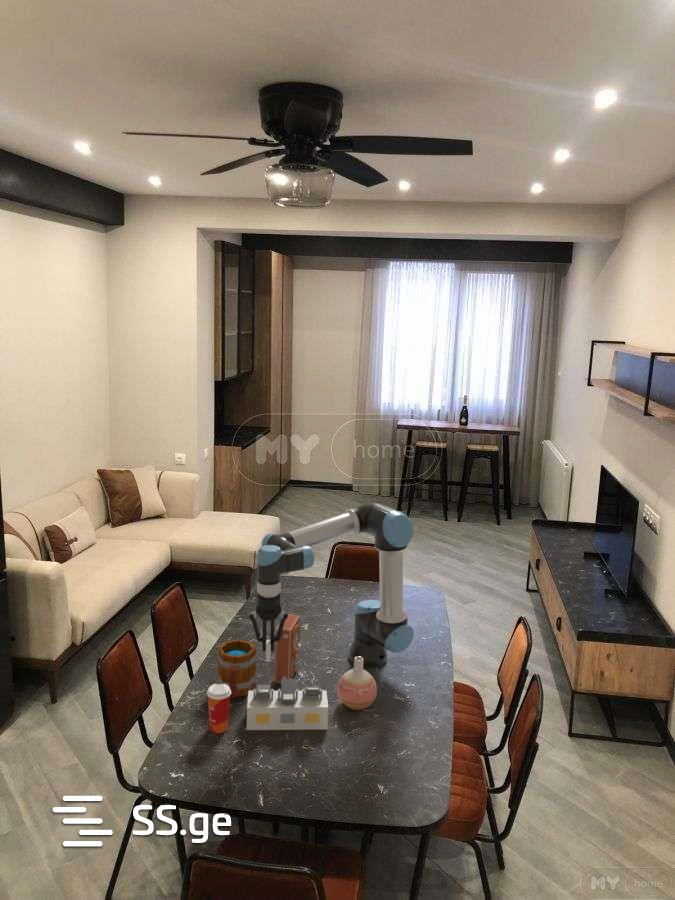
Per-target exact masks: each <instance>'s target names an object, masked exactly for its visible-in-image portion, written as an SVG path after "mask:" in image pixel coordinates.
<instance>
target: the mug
mask: <svg viewBox="0 0 675 900" xmlns="http://www.w3.org/2000/svg"><path fill="white" fill-rule="evenodd" d="M217 653H218V659H217V661H218V662H217V673H218V677H217V678H218V680H217V684H226V685H228V686H229V687H230V690H231V695H230V698H237V697H243V696H248V691H254V689H256V682H255V680H256V677H255V676H256V669H257V665H256V653H257V648H256V647H255V645H254V644H253V642H252V641H248V640H243V639H240V638H238V639H232V640H225V641H224V642H223V643H221V644H220V645H219V646H218V647H217Z"/></svg>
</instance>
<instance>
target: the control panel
mask: <svg viewBox="0 0 675 900" xmlns="http://www.w3.org/2000/svg"><path fill="white" fill-rule="evenodd" d="M278 627H279V624H278V625H277V626H276V628H274V636H276V634H277V631H278ZM300 637H301V626H300V615H297V614H291V613H290V614H289V613H288V617H287V619H286V620H285V622H284V626H283V630H282V633H281V637H280V640H279V641H275V642H274V651H273V653H274V654H275V660H274V661H275V665H274V666H275V667H274V668H275V669H274V683H276V684H281V679H294V678H293V677H294V676H295V673H296V671H298V668H299V650H300V649H299V645H300V643H299V642H300Z"/></svg>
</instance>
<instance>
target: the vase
mask: <svg viewBox="0 0 675 900" xmlns="http://www.w3.org/2000/svg"><path fill="white" fill-rule="evenodd" d="M377 694H378V687H377V682H376V680H375V678H374V677H373V675H372V674H370V672H368V671H367V670H366V669H364V667H363V658H362V657H359V656H358V657H355V658H354V663H353V668H351V669H349V670H348V671H345V673H343V675H341V677H340V679H339V680H338V683H337V696H338V698H339V701H341V703H342V704H343V705H344V706H346V707H347V708H348V709H350V710H353V711H362V710H364V709H366V708H368V707H370V706H371V705H372V704H373V703H374V701H375V700H376V698H377Z"/></svg>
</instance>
